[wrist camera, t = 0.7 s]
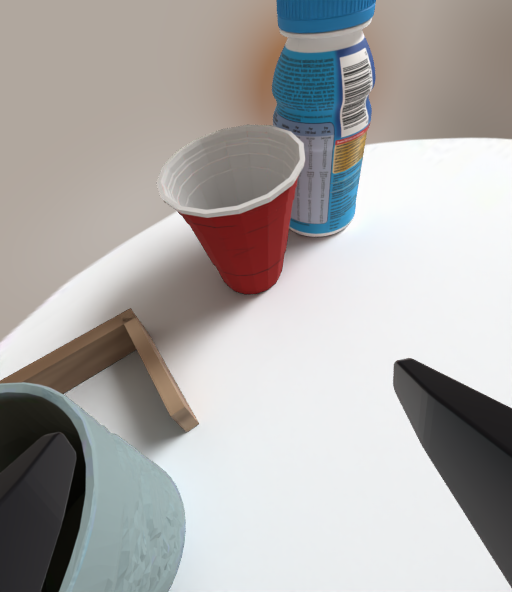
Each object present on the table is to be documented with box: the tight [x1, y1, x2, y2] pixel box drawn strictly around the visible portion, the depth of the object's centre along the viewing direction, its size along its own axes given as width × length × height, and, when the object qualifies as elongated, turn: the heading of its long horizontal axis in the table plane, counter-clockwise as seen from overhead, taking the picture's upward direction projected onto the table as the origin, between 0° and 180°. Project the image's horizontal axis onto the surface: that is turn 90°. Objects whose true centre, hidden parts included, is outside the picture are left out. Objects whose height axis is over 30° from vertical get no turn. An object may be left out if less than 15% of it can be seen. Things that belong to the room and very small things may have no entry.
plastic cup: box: [156, 125, 305, 294], centre depth 26 cm, size 11×11×12 cm
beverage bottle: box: [272, 0, 376, 237], centre depth 28 cm, size 8×8×20 cm
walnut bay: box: [0, 308, 199, 432], centre depth 22 cm, size 10×15×4 cm
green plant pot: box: [0, 382, 186, 592], centre depth 14 cm, size 10×10×12 cm
